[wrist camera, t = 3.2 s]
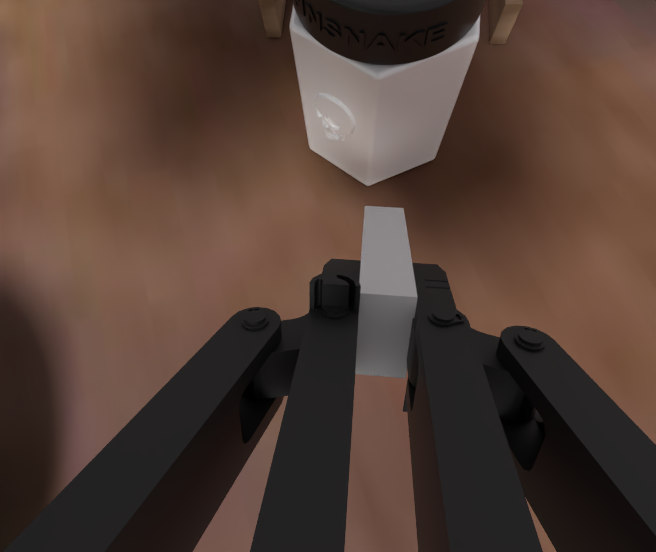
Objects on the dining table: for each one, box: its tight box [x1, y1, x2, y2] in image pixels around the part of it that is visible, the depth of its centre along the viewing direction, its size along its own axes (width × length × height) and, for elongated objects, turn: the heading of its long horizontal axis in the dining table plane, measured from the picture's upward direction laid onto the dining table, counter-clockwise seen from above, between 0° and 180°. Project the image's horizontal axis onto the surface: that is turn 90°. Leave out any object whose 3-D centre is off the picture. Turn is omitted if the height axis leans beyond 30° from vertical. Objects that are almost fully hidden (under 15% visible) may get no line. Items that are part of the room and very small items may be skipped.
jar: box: [289, 0, 486, 186], centre depth 21 cm, size 9×8×12 cm
